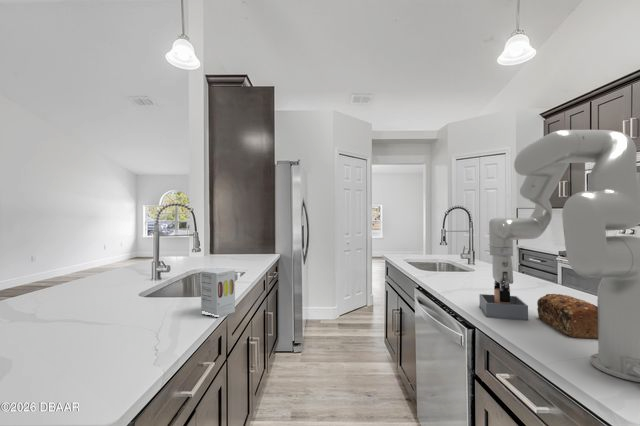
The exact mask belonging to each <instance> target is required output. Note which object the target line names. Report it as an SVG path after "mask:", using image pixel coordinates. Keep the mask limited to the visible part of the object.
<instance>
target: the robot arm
mask: <svg viewBox="0 0 640 426" xmlns="http://www.w3.org/2000/svg"><path fill="white" fill-rule="evenodd" d="M637 155H638V154H637V146H636V144H635V141H634V140H633V138H632V137H631V136H630V135H628V134H627V133H624V132H621V131H617V130H609V129H561V130H556V131H553V132H550V133H548V134H546V135H544V136H543V137H541V138H539V139H537V140H536V141H534V142H532V143H530V144H528V145H527V146H525V147H524V148H522V149H521V150H520V151H519V152H518V154H517V155H516V157H515V159H514V162H513V163H514V164H513V166H514V170H515V172H516V173H517V174H518V175H520V176H526V177H525V179H524V180H523V183H522V184H521V185H520V188H519V194H520V195H521V197H523V198H524V199H525V200H527V201H529V202H530V203H533V204H535V206H534V210H533V211H532V213H531V214H530V216H529V217H510V218H509V217H508V218H507V217H505V218H504V217H503V218H501V217H500V218H498V217H497V218H492V219H490V220H489V222H488V223H489V236H488V237H489V256H491V257H492V278H493V280H494V281H493V283H494V287H493V288H494V289H497V288H500V290H501V291H500V302H510V296H511V288H510V285H512V284H514V272H513V271H514V270H513V260H512V257H513V256H514V241H515V240H517V241H518V240H534V239H538V238H540V237H541V236H542V235H543V234H544V233H545V231H546V230H547V228H548V226H549V225H550V223H551V221H552V218H553V207H552V204H551V201H550V199H551V197H552V195H553V194H554V191H555V190H556V188H557V186H558V184H559V183H560V181H561V180H562V178H563V176H564V174H565V173H566V171H567V169H568V167H569V166H570V164H579V163H583V164H584V163H585V164H587V163H589V164H591V163H594V165H593V166H592V169H591V170H590V173H589V184H590V190H586V191H585V190H584V191H579V192H577V193H574V194H573V195H571V196H569V197H568V199H567V200H566V201H565V203H564V205H563V208H562V210H561V211H562V213H561V219H562V220H561V221H562V229H563V237H564V246H565V253H566V258H567V259H566V260H567V262H568V265H569V266H570V268H571V269H572V270H573V271H574V272H575V273H576V274H578V275H579V276H581V277H584V278H591V279H601V280H600V282H599V284H598V286H597V287H598V288H597V305H596V306H597V307H598V339H597V348H598V349H597V350H598V351H597V353H594V354H592V355H590V357H589V358H590V359H589V361H590V364H591V365H592V366H593V367H595V368H596V369H598V370H599V371H601V372H603V373H605V374H608V375H611V376H613V377H616V378H620V379H623V380H627V381H631V382H637V383H640V237H638V236H633V235H632V236H631V235H608V236H607V232H606V231H610V232H611V231H625V230H630V229H633V228H636V227H638V226H639V225H640V182H639V176H638V171H637V170H638V169H637V168H638V167H637ZM494 289H493V290H494Z"/></svg>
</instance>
